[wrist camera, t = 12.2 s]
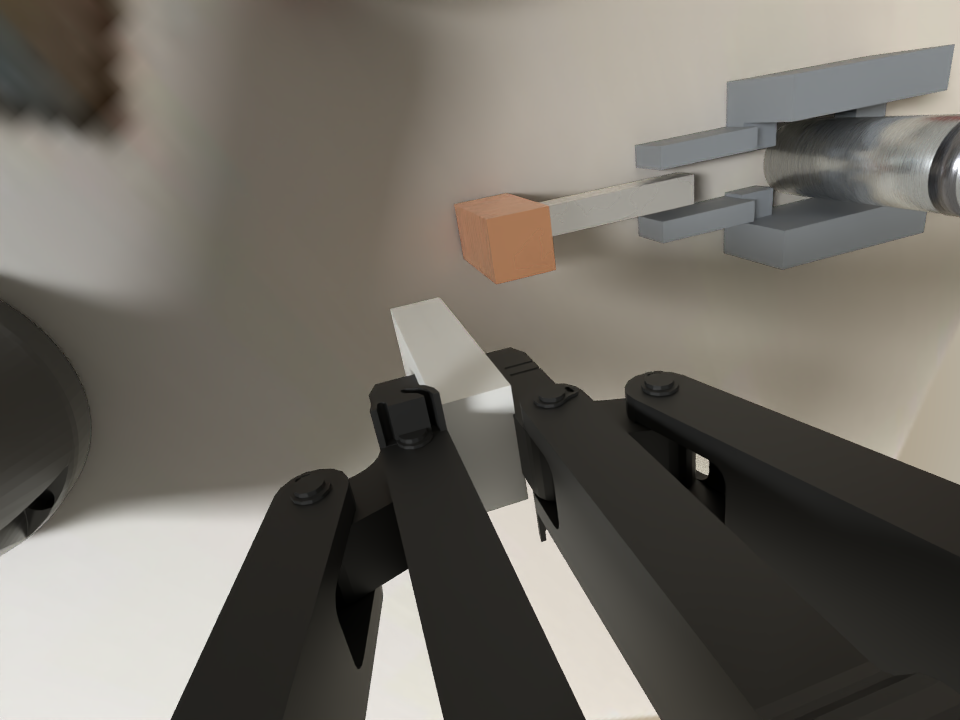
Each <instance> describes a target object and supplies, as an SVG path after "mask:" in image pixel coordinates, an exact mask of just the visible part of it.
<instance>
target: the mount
mask: <svg viewBox="0 0 960 720" xmlns="http://www.w3.org/2000/svg"><path fill="white" fill-rule="evenodd" d="M954 45H955V44H952V45H945V46H938V47H930V48H923V49H916V50H908V51H901V52H894V53H886V54H879V55H872V56H866V57H860V58H855V59H850V60H844V61H839V62H833V63H828V64H822V65H817V66H812V67H806V68H801V69H795V70H790V71H785V72H779V73H774V74H768V75H763V76H757V77H752V78H747V79H741V80H736V81H730V82H727V121H726V127H723V128H718V129H714V130H709V131H704V132H699V133H694V134H689V135H684V136H679V137H674V138H669V139H664V140H659V141H654V142H649V143H644V144H639V145H635V154H636V167H638V168H648V169H657V170H663V169H668V168H673V167H677V166H682V165H687V164H691V163H696V162H701V161H705V160H710V159H715V158H720V157H724V156H729V155H734V154H738V153H744V152H749V151H753V150H758V149H763V148H767V147H772V146H776V129H777V122H793V121H798V120H803V119H808V118H813V117H818V116H823V115H827V114H832V113H835V118H845V117H881V116H885V112H886V104H887V102H891V101H896V100H900V99H905V98H910V97H915V96H920V95H925V94H930V93H935V92H939V91H944V90H947V88H948V82H949V76H950V69H951V63H952V57H953V51H954ZM772 204H773V188H770V187H762V186H752V187H748V188H744V189H739V190H735V191H730V192H726V193H725V196H723V197H719V198H714V199H710V200H705V201H701V202H697V203H694V204H692V205H687V206H683V207H679V208H674V209H670V210H665V211H661V212H657V213H652V214H648V215H644V216H639V217H638V224H639V236H641V237H645V238H648V239H651V240H654V241H658V242H661V243H666V242H670V241H675V240H679V239H683V238H687V237H691V236H695V235H699V234H704V233H708V232H712V231H716V230H720V229H724V253H726V254H730V255H733V256H737V257H740V258H743V259H747V260H750V261H754V262H757V263H761V264H764V265H768V266H771V267H775V268H778V269H782V270H783V269H787V268H791V267H794V266H798V265H802V264H806V263H810V262H813V261H817V260H821V259H825V258H828V257H832V256H836V255H840V254H844V253H847V252H851V251H855V250H859V249H863V248H866V247H870V246H874V245H878V244H881V243H885V242H889V241H893V240H897V239H900V238H904V237H908V236H912V235H916V234H919V233H923V232H924V227H925V221H926V214H927V212H925V211H917V210H909V209H902V208H894V207H886V206H878V205H870V204H862V203H854V202H846V201H839V200H831V199H823V198H815V197H814V198H809V199H805V200H801V201H797V202H793V203H788V204H784V205H780V206H776V207H772Z"/></svg>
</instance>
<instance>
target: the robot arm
mask: <svg viewBox="0 0 960 720" xmlns="http://www.w3.org/2000/svg"><path fill="white" fill-rule="evenodd" d="M390 311H391V315H392V319H393V323H394V328H395V332H396V336H397V340H398V344H399V349H400V353H401V357H402V361H403V365H404V370H405V374H406V377H402V378H398V379H394V380H390V381H387V382H383V383H379V384H375V386H374V388H373V389H372V391H371V393H370V394H369V398H370V402H371V408H370V414H371V417H372V421H373V424H374V428H375V432H376V435H377V439H378V443H379V446H380V450H381V451H380V454H379V456H378V458H377V459H376V460H375V461H374V463H373V464H372V465H370V466H369V467H368V468H367V469H366V470H364V471H362V472H361V473H359V474H357V475H355V476H353V477H351V478H349V479H348V477H347V476H346V475H345V474H344V473H343V472H342V471H339V470H335V469H318V470H315V471H311V472H306V473H303V474H301V475H299V476H297V477H295V478H293V479H292V480H290V481H289V482H288V483H287V484H285V485H284V486H283V487H281V488H280V490H279V491H278V492H277V494H276V495H275V496H274V498H273V500H272V502H271V505H270V507H269V509H268V511H267V513H266V515H265V517H264V520H263V522H262V524H261V526H260V528H259V530H258V533H257V535H256V537H255V539H254V541H253V543H252V545H251V548H250V550H249V552H248V554H247V556H246V558H245V561H244V563H243V565H242V567H241V569H240V571H239V573H238V576H237V578H236V580H235V582H234V584H233V586H232V589H231V591H230V593H229V595H228V597H227V599H226V602H225V604H224V606H223V608H222V610H221V612H220V614H219V617H218V619H217V621H216V623H215V625H214V627H213V630H212V632H211V634H210V636H209V638H208V640H207V642H206V645H205V647H204V649H203V651H202V653H201V655H200V658H199V660H198V662H197V664H196V666H195V668H194V670H193V673H192V675H191V677H190V679H189V681H188V683H187V686H186V688H185V690H184V692H183V694H182V696H181V698H180V701H179V703H178V705H177V707H176V709H175V711H174V714H173V716H172V718H171V720H365V717H366V710H367V703H368V696H369V690H370V683H371V676H372V669H373V662H374V655H375V649H376V642H377V635H378V628H379V621H380V614H381V608H382V601H383V591H382V585H383V584H384V583H386V582H388V581H389V580H391V579H392V578H394V577H396V576H397V575H399V574H400V573H402V572H404V571H405V570H407V569H409V573H410V578H411V582H412V586H413V590H414V595H415V599H416V603H417V607H418V612H419V616H420V620H421V624H422V629H423V633H424V637H425V641H426V646H427V650H428V654H429V658H430V663H431V667H432V671H433V676H434V680H435V684H436V688H437V693H438V697H439V701H440V705H441V710H442V714H443V718H444V720H586V719H585V717H584V715H583V713H582V711H581V709H580V707H579V705H578V702H577V700H576V698H575V696H574V694H573V692H572V690H571V688H570V686H569V684H568V682H567V679H566V677H565V675H564V673H563V671H562V669H561V667H560V665H559V663H558V661H557V658H556V656H555V654H554V652H553V650H552V648H551V646H550V644H549V642H548V640H547V638H546V635H545V633H544V631H543V629H542V627H541V625H540V623H539V621H538V619H537V617H536V614H535V612H534V610H533V608H532V606H531V604H530V602H529V600H528V598H527V596H526V593H525V591H524V589H523V587H522V585H521V583H520V581H519V579H518V577H517V575H516V573H515V570H514V568H513V566H512V564H511V562H510V560H509V558H508V556H507V554H506V552H505V549H504V547H503V545H502V543H501V541H500V539H499V537H498V535H497V533H496V531H495V529H494V526H493V524H492V522H491V520H490V518H489V516H488V514H487V512H488V511H491V510H495V509H498V508H501V507H504V506H507V505H510V504H513V503H516V502H520V501H523V500H526V499H528V494H527V487H526V481H525V478H526V480H527V482H528V483H529V485H530V486H531V488H532V489H533V494H534V501H535V508H536V515H537V521H538V528H539V534H540V538H541V542H543V541H546V534H545V531H546V529H547V530H548V532H549V533H550V535H551V537H552V538H553V540H554V542H555V543H556V545H557V547H558V549H559V550H560V552H561V554H562V555H563V557H564V559H565V560H566V562H567V564H568V565H569V567H570V569H571V570H572V572H573V574H574V575H575V577H576V579H577V580H578V582H579V584H580V585H581V587H582V589H583V590H584V592H585V594H586V595H587V597H588V599H589V600H590V602H591V604H592V605H593V607H594V609H595V610H596V612H597V614H598V615H599V617H600V619H601V620H602V622H603V624H604V625H605V627H606V629H607V630H608V632H609V634H610V635H611V637H612V639H613V640H614V642H615V644H616V645H617V647H618V649H619V650H620V652H621V654H622V655H623V657H624V659H625V660H626V662H627V664H628V665H629V667H630V669H631V670H632V672H633V674H634V675H635V677H636V679H637V680H638V682H639V684H640V685H641V687H642V689H643V690H644V692H645V694H646V695H647V697H648V699H649V700H650V702H651V704H652V705H653V707H654V709H655V710H656V712H657V714H658V715H659V717H660V719H661V720H960V485H959V484H956V483H953V482H951V481H948V480H946V479H944V478H941V477H938V476H936V475H934V474H931V473H928V472H926V471H923V470H921V469H918V468H916V467H913V466H911V465H908V464H905V463H903V462H901V461H898V460H896V459H893V458H891V457H888V456H886V455H883V454H881V453H878V452H875V451H873V450H870V449H868V448H865V447H863V446H860V445H858V444H855V443H853V442H850V441H848V440H845V439H843V438H840V437H838V436H835V435H833V434H830V433H828V432H825V431H823V430H820V429H817V428H815V427H812V426H810V425H807V424H805V423H802V422H800V421H797V420H795V419H792V418H790V417H787V416H785V415H782V414H780V413H777V412H775V411H772V410H770V409H767V408H765V407H762V406H759V405H757V404H754V403H752V402H749V401H747V400H744V399H742V398H739V397H737V396H734V395H732V394H729V393H727V392H724V391H722V390H719V389H717V388H714V387H712V386H709V385H707V384H704V383H701V382H699V381H696V380H694V379H691V378H689V377H686V376H684V375H680V374H676V373H672V372H663V371H654V372H647V373H645V374H641V375H638V376H635V377H634V378H632V379H631V380H629V381H628V382H627V384H626V386H625V398H623V399H613V400H603V401H593V400H592V399H591V398H590V397H589V396H588V395H587V394H586V393H585V392H584V391H583V390H581V389H579V388H577V387H576V386H572V385H568V384H555V383H554V382H553V381H552V380H551V379H550V378H549V377H548V376H547V374H546V373H545V372H544V371H543V370H542V369H541V368H540V369H539V366H538V365H537V364H536V363H535V362H533V361H532V359H531V358H530V357H529V356H528V355H527V354H526V353H525V352H522V351H519V350H516V349H513V348H511V347H509V348H506V349H502V350H498V351H494V352H491V353H487V354H485V353H484V351H483V350H482V349H481V348H480V346H479V345H478V344H477V343H476V342H475V340H474V339H473V338H472V337H471V335H470V334H469V333H468V332H467V330H466V329H465V328H464V327H463V325H462V324H461V323H460V322H459V320H458V319H457V318H456V317H455V315H454V314H453V313H452V312H451V310H450V309H449V308H448V307H447V306H446V304H445V303H444V302H443V301H442V299H441V298H440V297H438V298H433V299H429V300H425V301H421V302H417V303H413V304H408V305H404V306H400V307H396V308H392V309H390ZM90 440H91V417H90V411H89V406H88V402H87V398H86V395H85V392H84V390H83V387H82V385H81V383H80V380H79V378H78V376H77V375H76V373H75V371H74V369H73V367H72V366H71V364H70V363H69V361H68V360H67V358H66V357H65V356H64V354H63V353H62V352H61V351H60V349H59V348H58V347H57V346H56V345H55V344H54V342H53V341H52V340H51V339H50V338H49V337H48V336H47V335H46V334H45V333H44V332H43V331H42V330H41V329H39V328H38V327H37V326H36V325H35V324H34V323H32V322H31V321H30V320H29V319H27V318H26V317H25V316H23V315H22V314H21V313H19V312H18V311H17V310H15V309H14V308H12V307H10V306H9V305H7V304H6V303H4V302H2V301H1V300H0V556H2V555H3V554H5V553H6V552H8V551H9V550H11V549H12V548H14V547H16V546H17V545H19V544H20V543H22V542H23V541H24V540H26V539H27V538H29V537H30V536H31V535H32V534H33V533H35V532H36V531H37V530H38V529H39V528H40V527H41V526H42V525H43V524H44V523H45V522H46V521H47V520H48V519H49V518H50V517H51V516H52V515H53V514H54V512H55V511H56V510H57V509H58V507H59V506H60V505H61V503H62V502H63V500H64V499H65V497H66V496H67V494H68V493H69V491H70V490H71V488H72V487H73V485H74V484H75V482H76V480H77V479H78V477H79V475H80V473H81V471H82V469H83V467H84V465H85V462H86V459H87V456H88V452H89V447H90ZM696 453H697V454H699V455H700V456H702V457H704V458H706V459H708V460H709V475H705V474H702V473H700V472H699V471H697V470H696Z"/></svg>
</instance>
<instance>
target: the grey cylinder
mask: <svg viewBox="0 0 960 720" xmlns="http://www.w3.org/2000/svg"><path fill="white" fill-rule="evenodd" d="M764 174H765V178H766V181H767V182H768V184H769V185H770V187H771V188H773V190H775V191H777V192H779V193H784V194H791V195H799V196H807V197H815V198H823V199H831V200H839V201H846V202H854V203H862V204H870V205H878V206H886V207H894V208H902V209H909V210H917V211H925V212H933V213H941V214H944V215H948V216H956V217H960V114H951V115H916V116H881V117H845V118H810V119H803V120H798V121H793V122H788V123H786V124H784V125H783V126H782V127H781V128H780V129H779V130H778V131H777V132H776V146H772V147H767V149H766V152H765V156H764Z"/></svg>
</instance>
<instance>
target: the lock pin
mask: <svg viewBox="0 0 960 720" xmlns="http://www.w3.org/2000/svg"><path fill="white" fill-rule="evenodd" d="M692 204H694V174H686V173H672V174H668V175H663V176H658V177H654V178H649V179H645V180H640V181H635V182H631V183H626V184H621V185H617V186H612V187H608V188H603V189H598V190H594V191H589V192H584V193H580V194H575V195H570V196H566V197H561V198H557V199H552V200H547V201H543V202H535V201H531V200H528V199H525V198H521V197H518V196H515V195H511V194H508V193H505V194H500V195H496V196H491V197H486V198H481V199H477V200H472V201H467V202H462V203H458V204H454V206H455V212H456V217H457V223H458V229H459V234H460V240H461V246H462V252H463V257H464V259H465V260H466V261H467V262H469V263H470V264H471V265H472V266H474V267H475V268H476V269H477V270H479V271H480V272H481V273H482V274H484V275H485V276H486V277H488V278H489V279H490V280H491V281H493V282H494V283H495V284H500V283H504V282H508V281H512V280H516V279H520V278H524V277H529V276H533V275H537V274H541V273H545V272H549V271H553V270H556V266H555V257H554V247H553V238H552V236H557V235H561V234H565V233H570V232H574V231H578V230H583V229H587V228H591V227H596V226H600V225H604V224H609V223H613V222H618V221H622V220H626V219H631V218H635V217H639V216H644V215H648V214H652V213H657V212H661V211H665V210H670V209H674V208H679V207H683V206H687V205H692Z"/></svg>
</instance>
